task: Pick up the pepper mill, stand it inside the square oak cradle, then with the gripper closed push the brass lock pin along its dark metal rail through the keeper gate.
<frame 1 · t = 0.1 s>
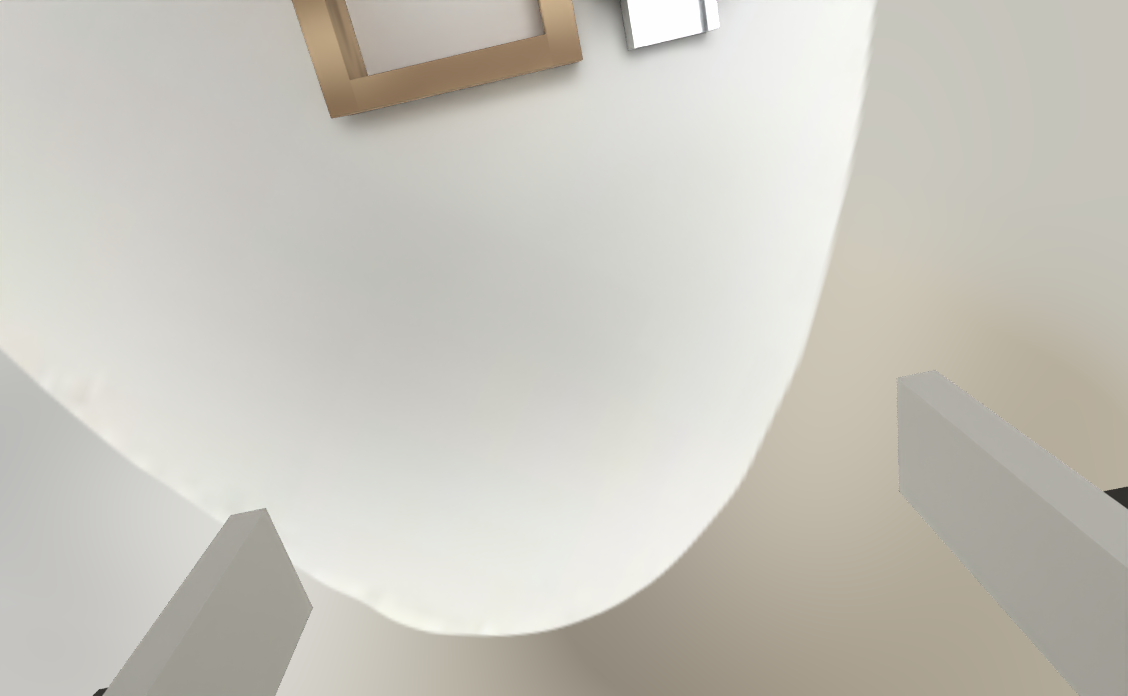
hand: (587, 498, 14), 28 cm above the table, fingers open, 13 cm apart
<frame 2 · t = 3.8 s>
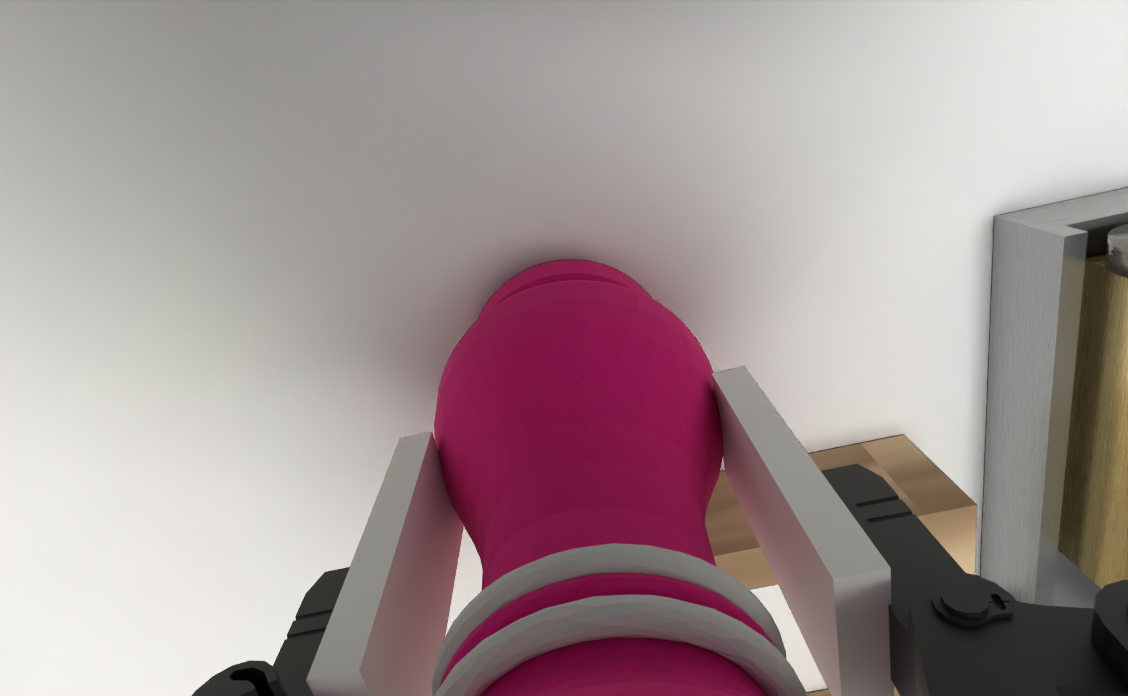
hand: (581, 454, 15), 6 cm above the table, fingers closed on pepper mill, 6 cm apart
pepper mill: (570, 351, 21), on the table, touching gripper
cradle: (736, 612, 25), on the table
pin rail: (1046, 477, 23), on the table
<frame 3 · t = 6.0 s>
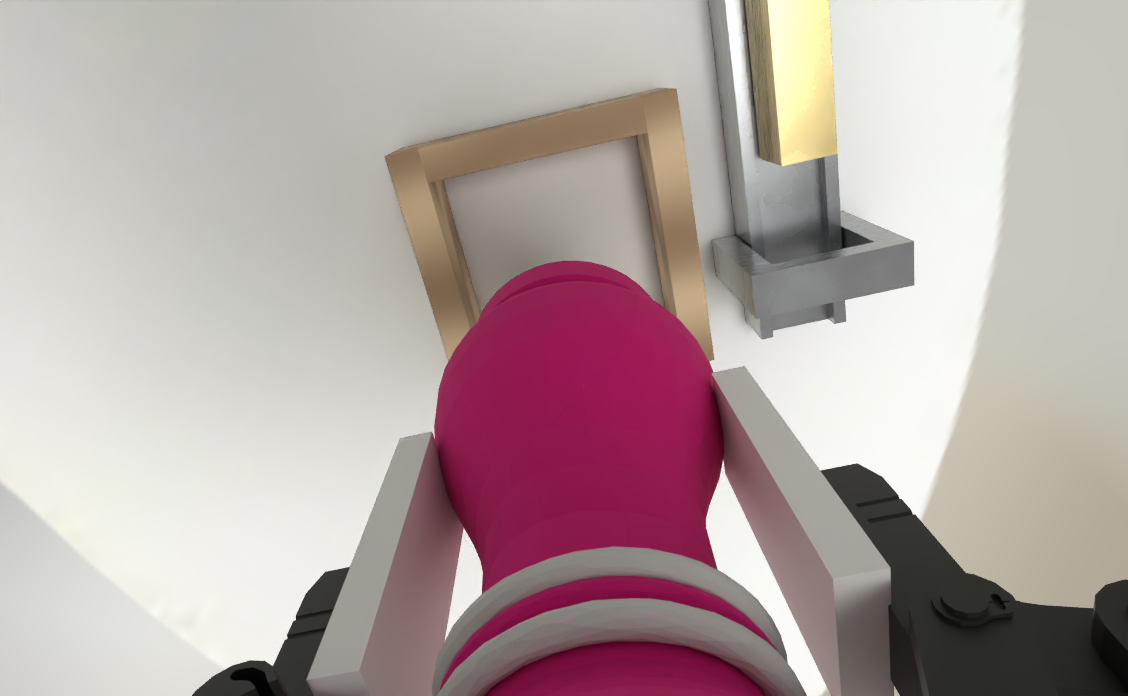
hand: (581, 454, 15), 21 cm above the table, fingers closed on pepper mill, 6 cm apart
pepper mill: (570, 352, 21), point 15 cm above the table, touching gripper
lock pin: (786, 26, 27), point 4 cm above the table, slide at 0.0 cm
cradle: (558, 245, 34), on the table
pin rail: (768, 128, 33), on the table
when the fingers open (8 cm above the table, at t = 8.7 s): pepper mill drops 2 cm, resting in cradle.
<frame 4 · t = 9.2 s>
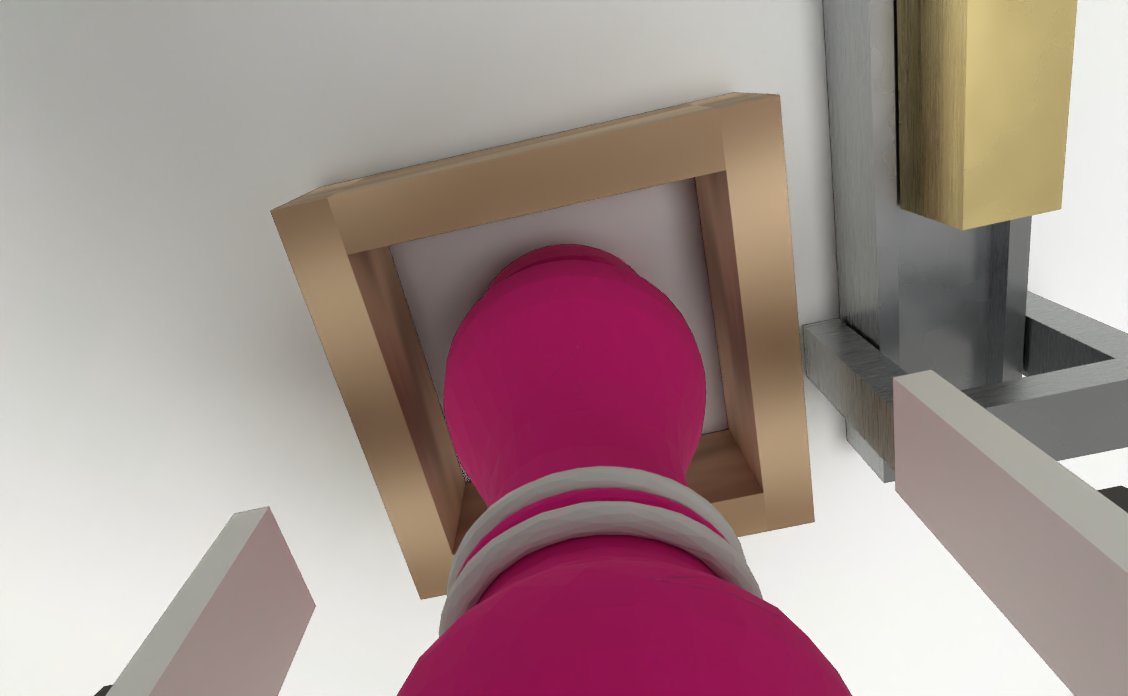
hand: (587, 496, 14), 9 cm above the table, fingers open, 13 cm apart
pepper mill: (567, 330, 23), resting in cradle
cradle: (567, 334, 22), on the table
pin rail: (902, 156, 20), on the table
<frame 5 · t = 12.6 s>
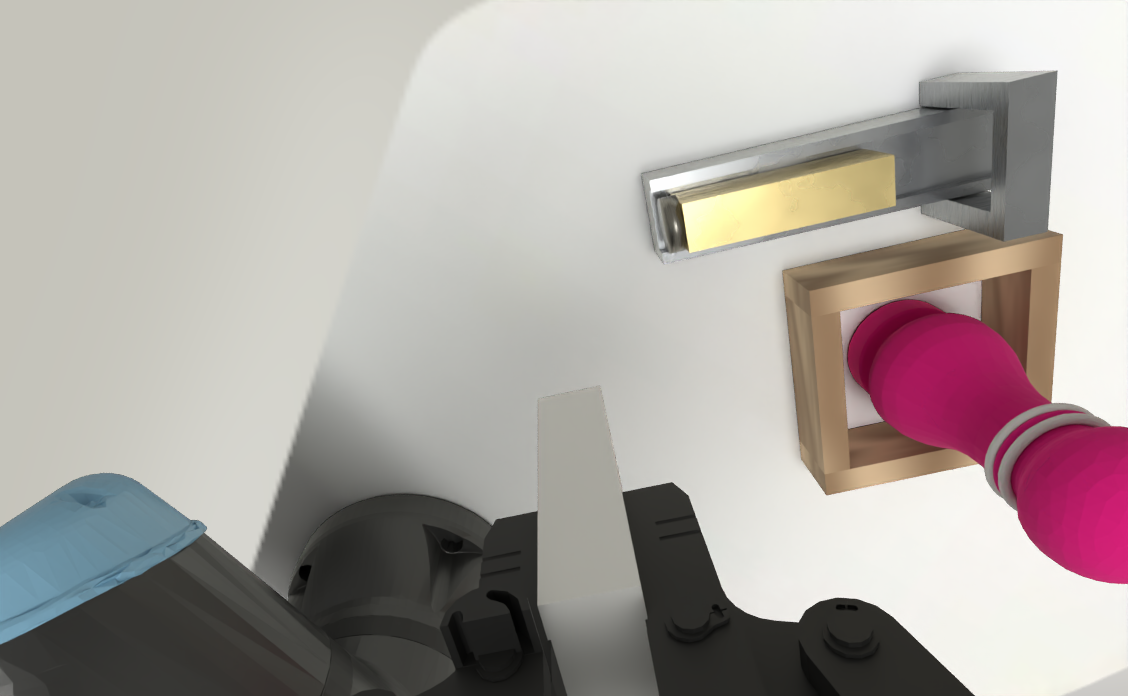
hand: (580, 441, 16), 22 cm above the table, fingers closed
pepper mill: (896, 346, 40), resting in cradle
lock pin: (770, 201, 32), point 4 cm above the table, slide at 0.0 cm
cradle: (898, 347, 40), on the table
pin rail: (828, 171, 35), on the table
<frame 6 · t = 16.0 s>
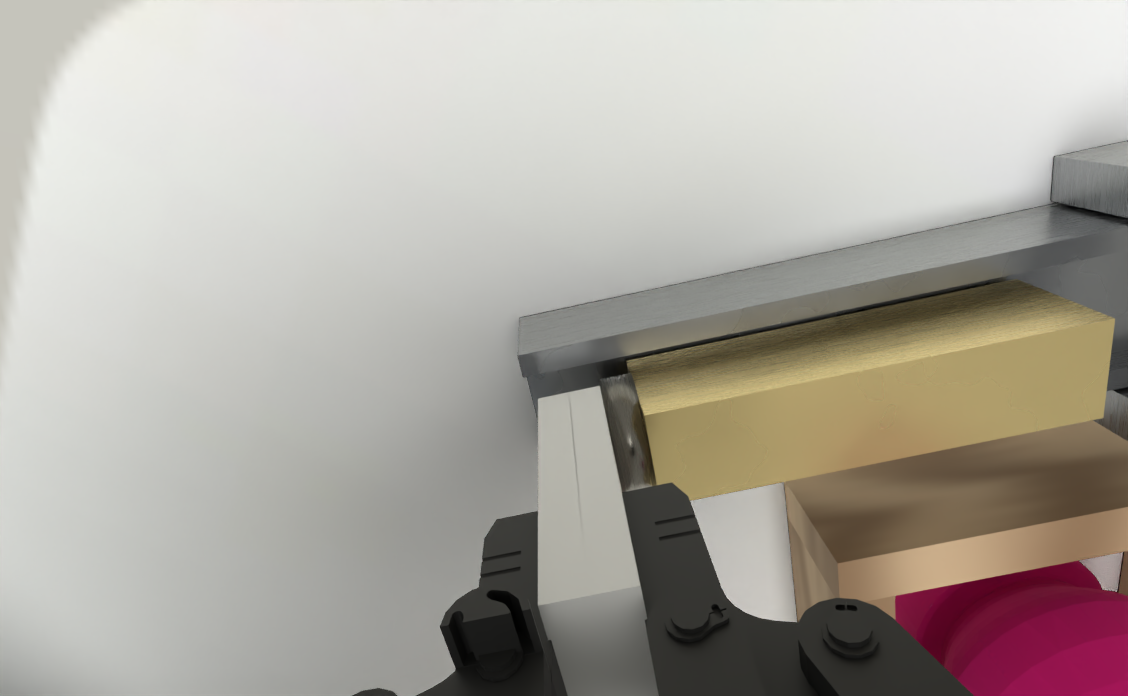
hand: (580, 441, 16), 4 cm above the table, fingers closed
pepper mill: (974, 590, 23), resting in cradle
lock pin: (830, 390, 16), point 4 cm above the table, slide at 1.6 cm, touching gripper
cradle: (979, 594, 23), on the table
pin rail: (872, 315, 19), on the table
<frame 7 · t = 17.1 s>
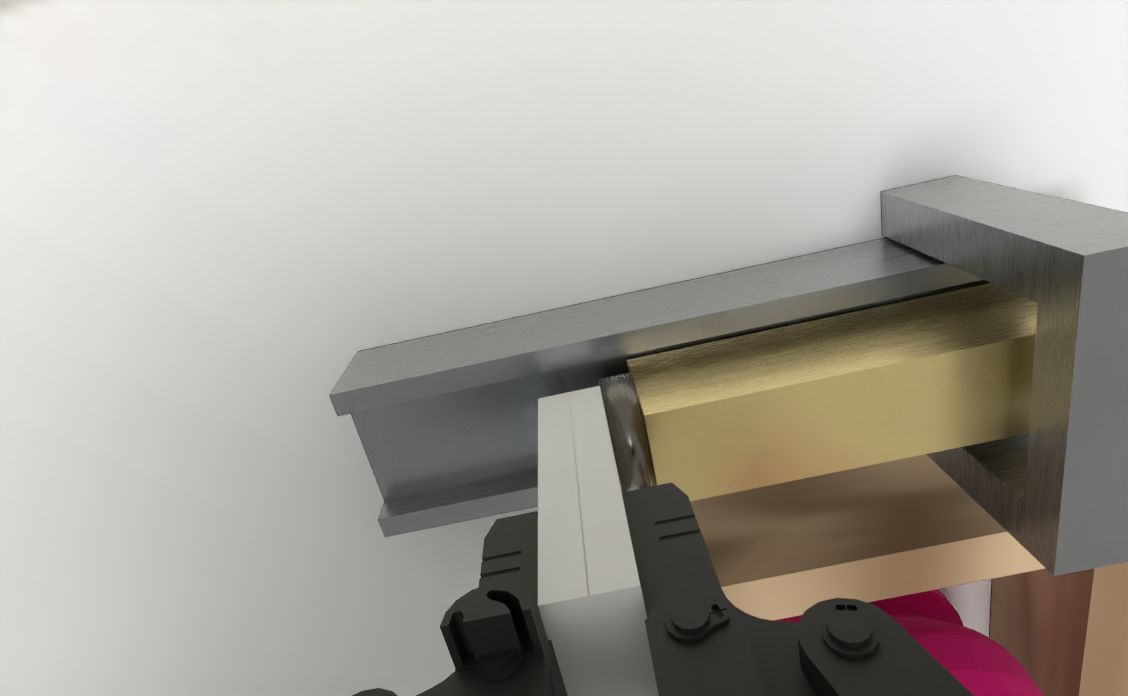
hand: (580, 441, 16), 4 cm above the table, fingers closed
pepper mill: (846, 615, 23), resting in cradle
lock pin: (833, 389, 15), point 4 cm above the table, slide at 6.4 cm, touching gripper
cradle: (850, 620, 23), on the table
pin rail: (713, 348, 19), on the table
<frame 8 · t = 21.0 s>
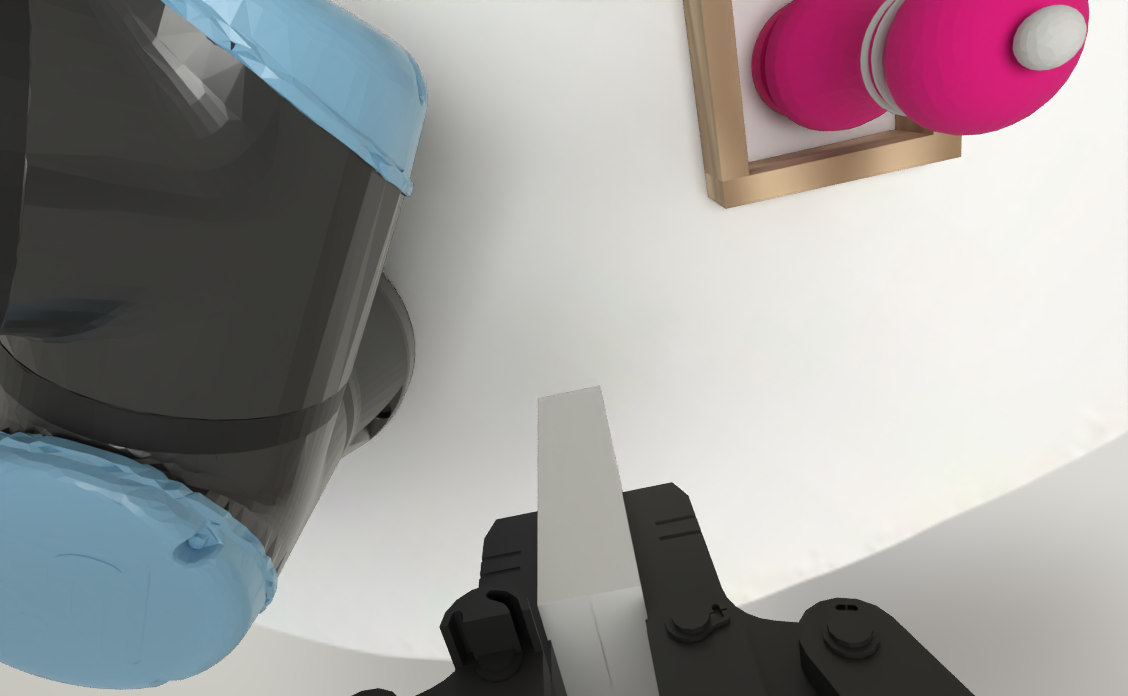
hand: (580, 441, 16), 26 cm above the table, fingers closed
pepper mill: (804, 59, 37), resting in cradle
cradle: (806, 59, 37), on the table
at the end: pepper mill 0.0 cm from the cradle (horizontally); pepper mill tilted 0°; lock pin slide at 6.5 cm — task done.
